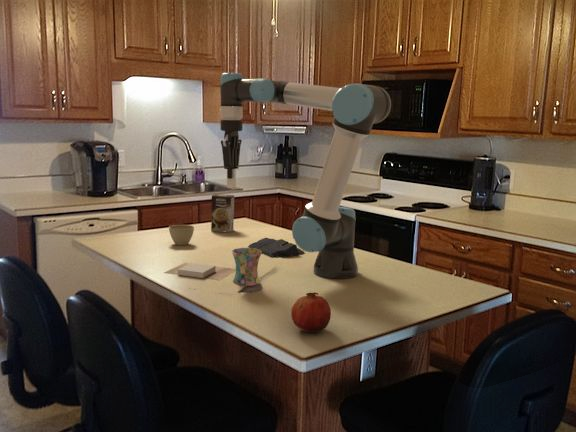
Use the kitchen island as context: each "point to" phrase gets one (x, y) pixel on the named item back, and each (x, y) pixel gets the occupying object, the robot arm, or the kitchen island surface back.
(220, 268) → the board
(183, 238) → the flower pot
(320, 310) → the fruit
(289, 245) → the dark slate chunk
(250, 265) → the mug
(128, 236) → the kitchen island surface
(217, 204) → the coffee box
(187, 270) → the tile
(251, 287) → the coaster
